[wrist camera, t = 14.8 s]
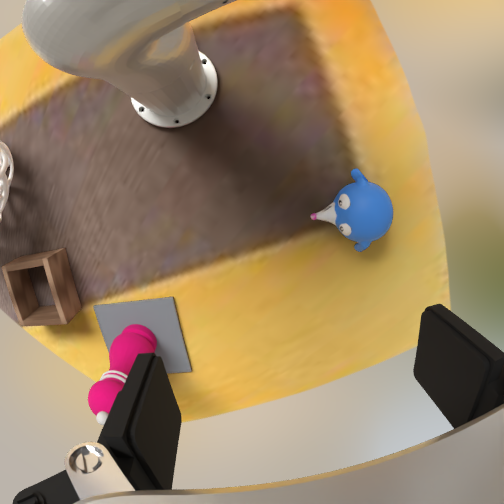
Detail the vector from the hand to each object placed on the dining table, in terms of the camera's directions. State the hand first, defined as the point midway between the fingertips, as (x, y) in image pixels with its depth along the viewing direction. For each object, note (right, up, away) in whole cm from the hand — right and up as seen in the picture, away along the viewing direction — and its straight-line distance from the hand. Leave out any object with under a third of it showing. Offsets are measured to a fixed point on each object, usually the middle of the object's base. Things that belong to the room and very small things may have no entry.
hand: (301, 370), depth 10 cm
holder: (-36, -1, +36) cm, 51 cm away
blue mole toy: (+12, +10, +36) cm, 39 cm away
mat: (-20, -11, +39) cm, 45 cm away
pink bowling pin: (-20, -11, +39) cm, 45 cm away
